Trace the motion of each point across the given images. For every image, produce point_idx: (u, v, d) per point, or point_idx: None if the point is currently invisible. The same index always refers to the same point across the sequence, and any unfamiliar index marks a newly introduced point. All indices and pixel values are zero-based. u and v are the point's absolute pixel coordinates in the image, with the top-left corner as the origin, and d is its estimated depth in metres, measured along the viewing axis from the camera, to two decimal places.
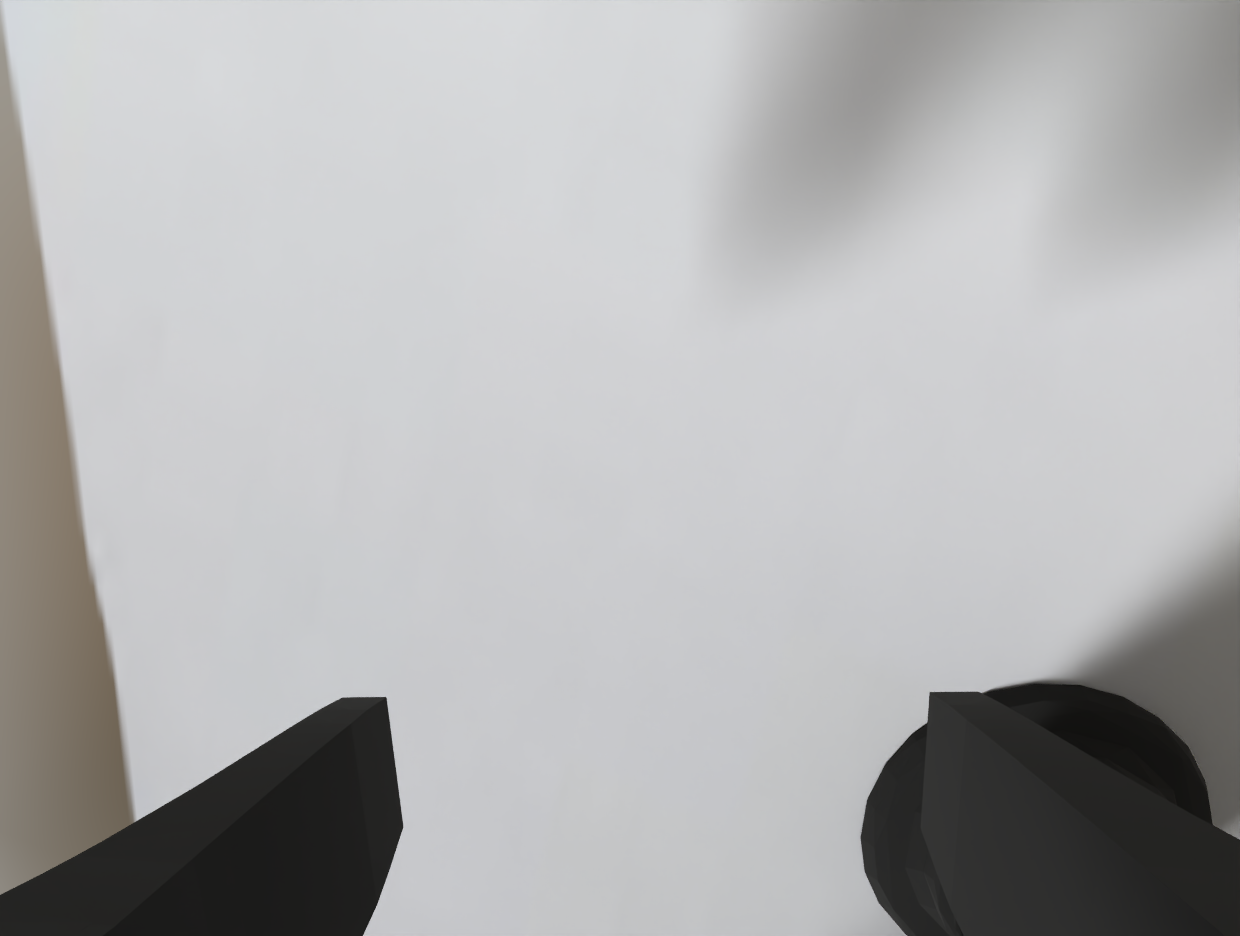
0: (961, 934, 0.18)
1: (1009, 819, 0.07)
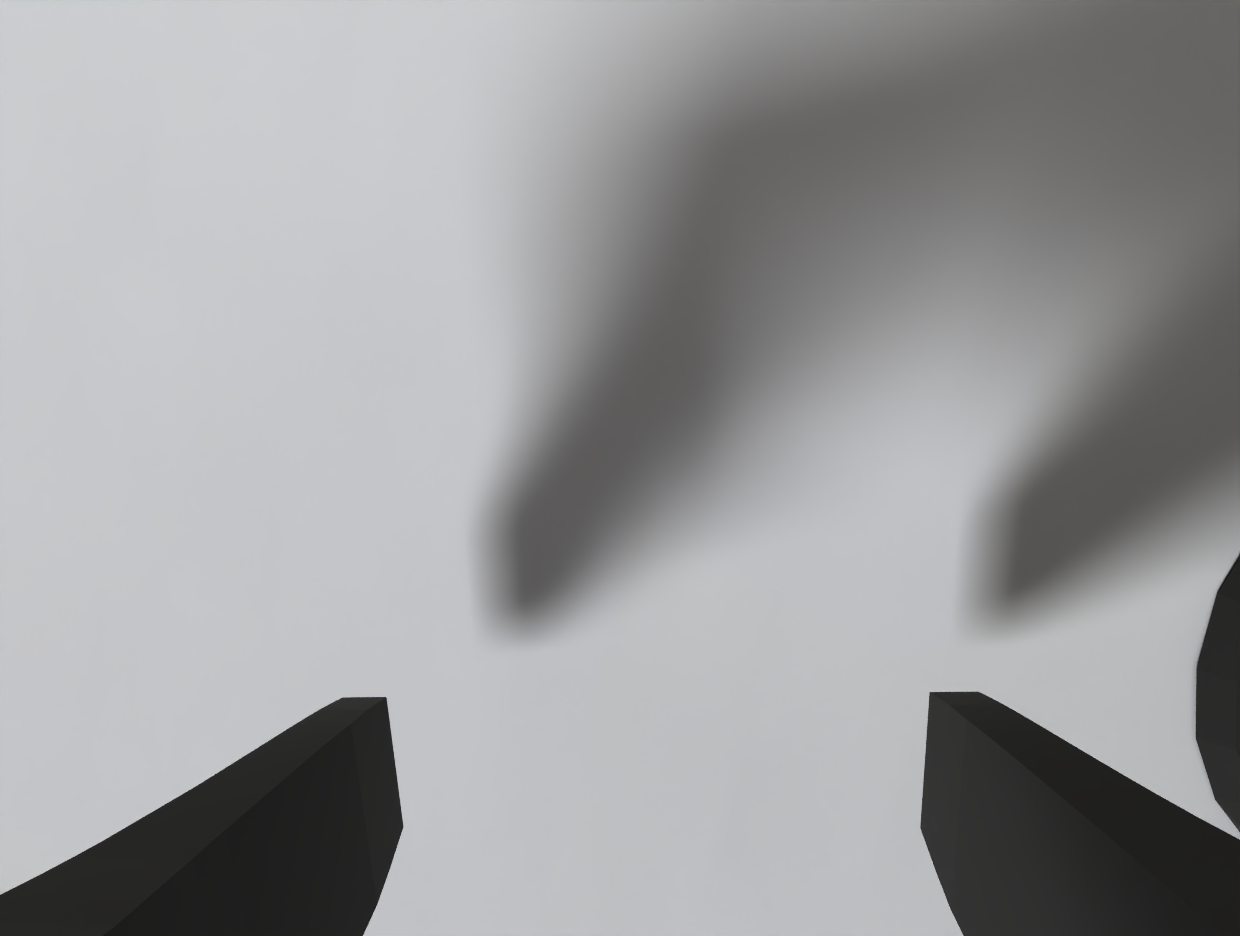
0: None
1: (1009, 819, 0.07)
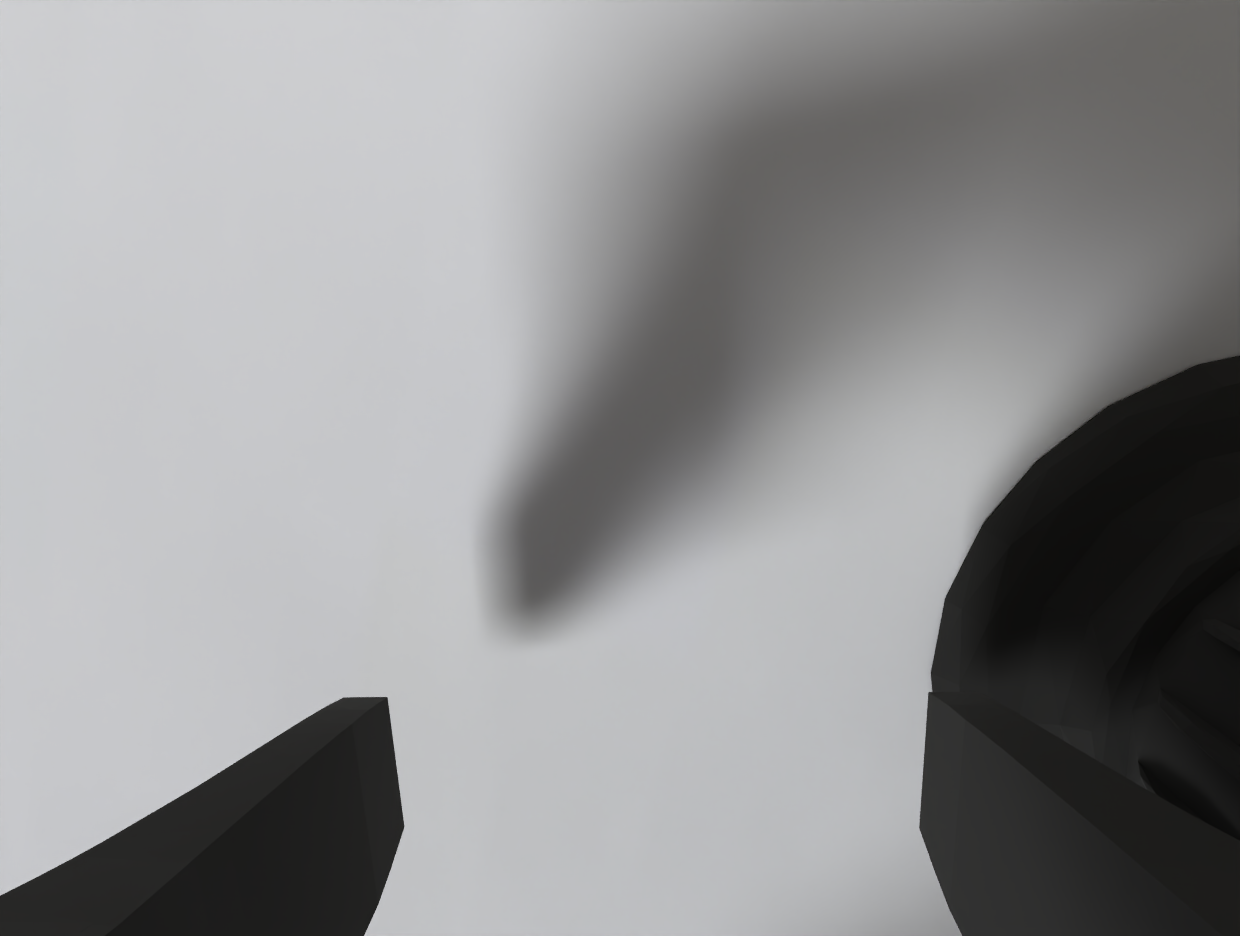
0: None
1: (1008, 820, 0.07)
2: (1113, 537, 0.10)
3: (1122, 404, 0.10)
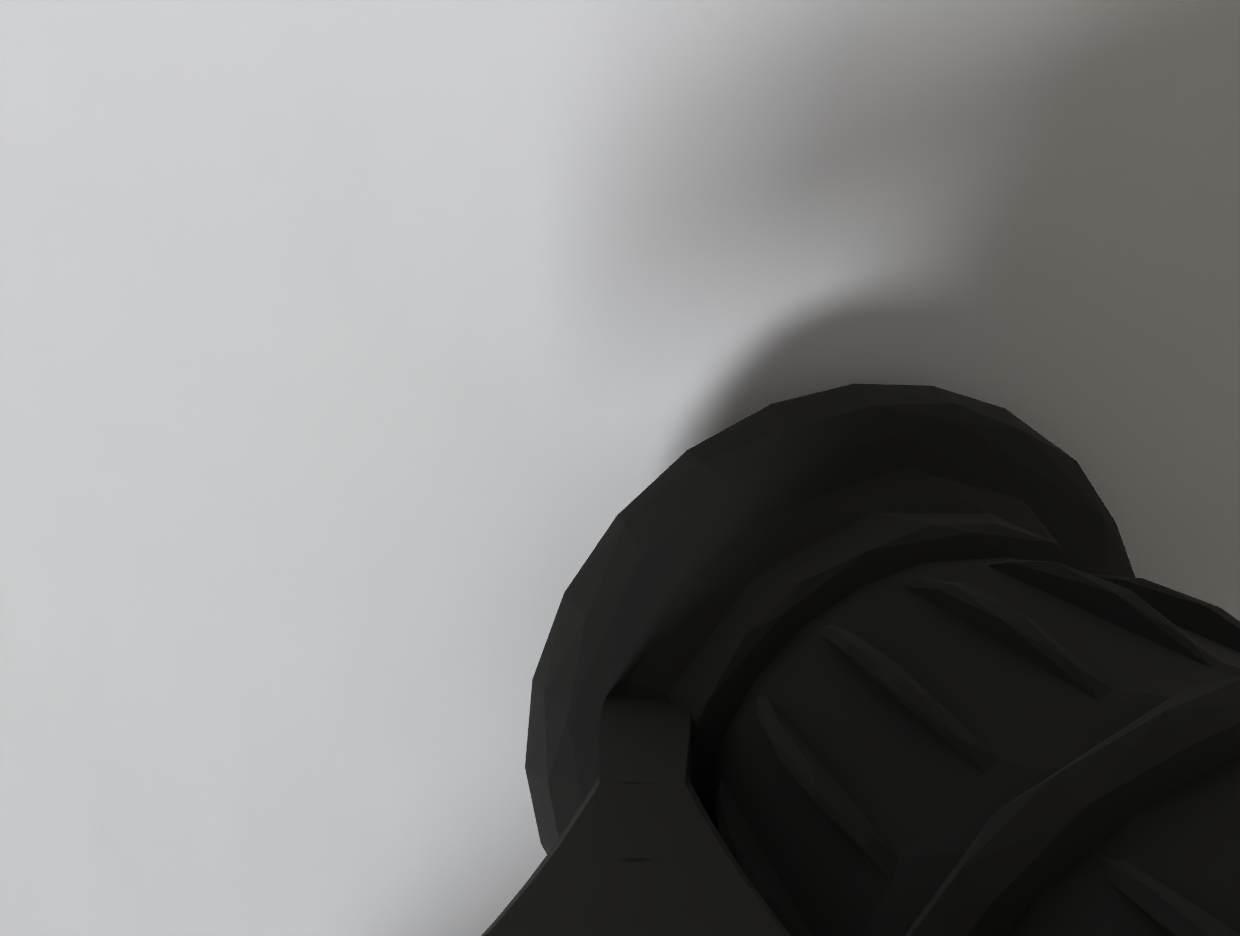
0: None
1: None
2: (691, 598, 0.09)
3: (699, 448, 0.09)
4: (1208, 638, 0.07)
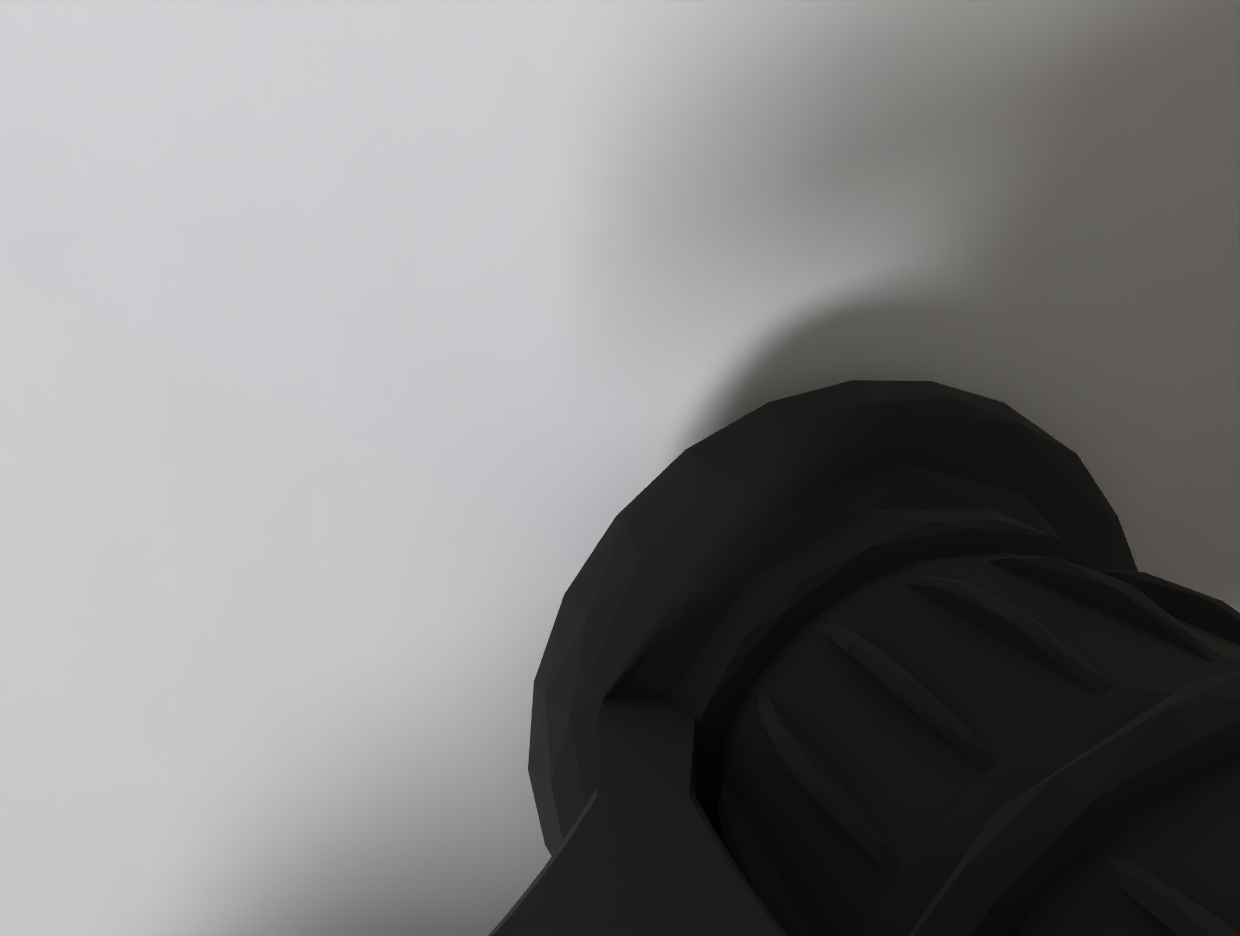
0: None
1: None
2: (692, 598, 0.09)
3: (697, 447, 0.09)
4: (1210, 632, 0.06)
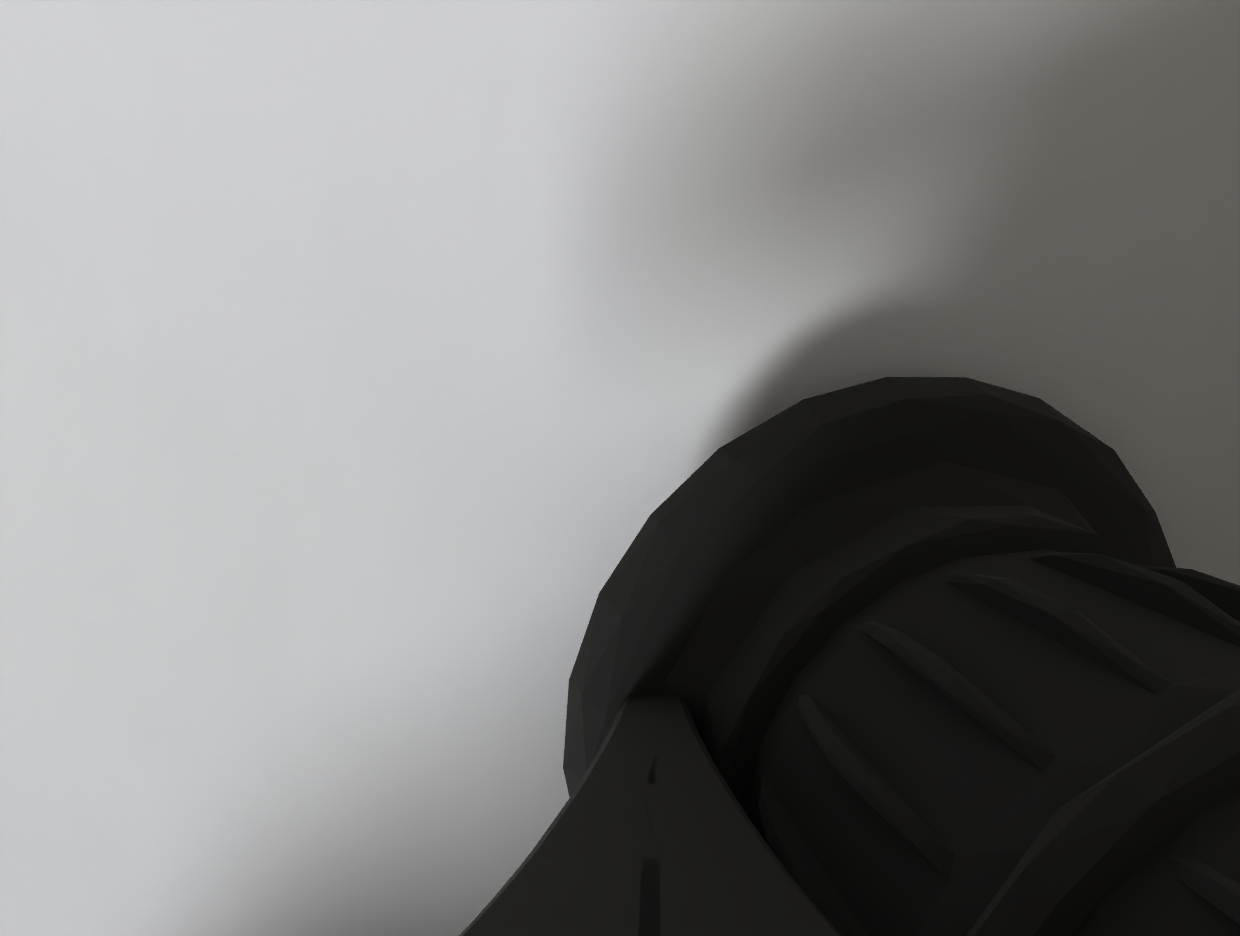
0: None
1: None
2: (727, 597, 0.09)
3: (731, 445, 0.09)
4: None
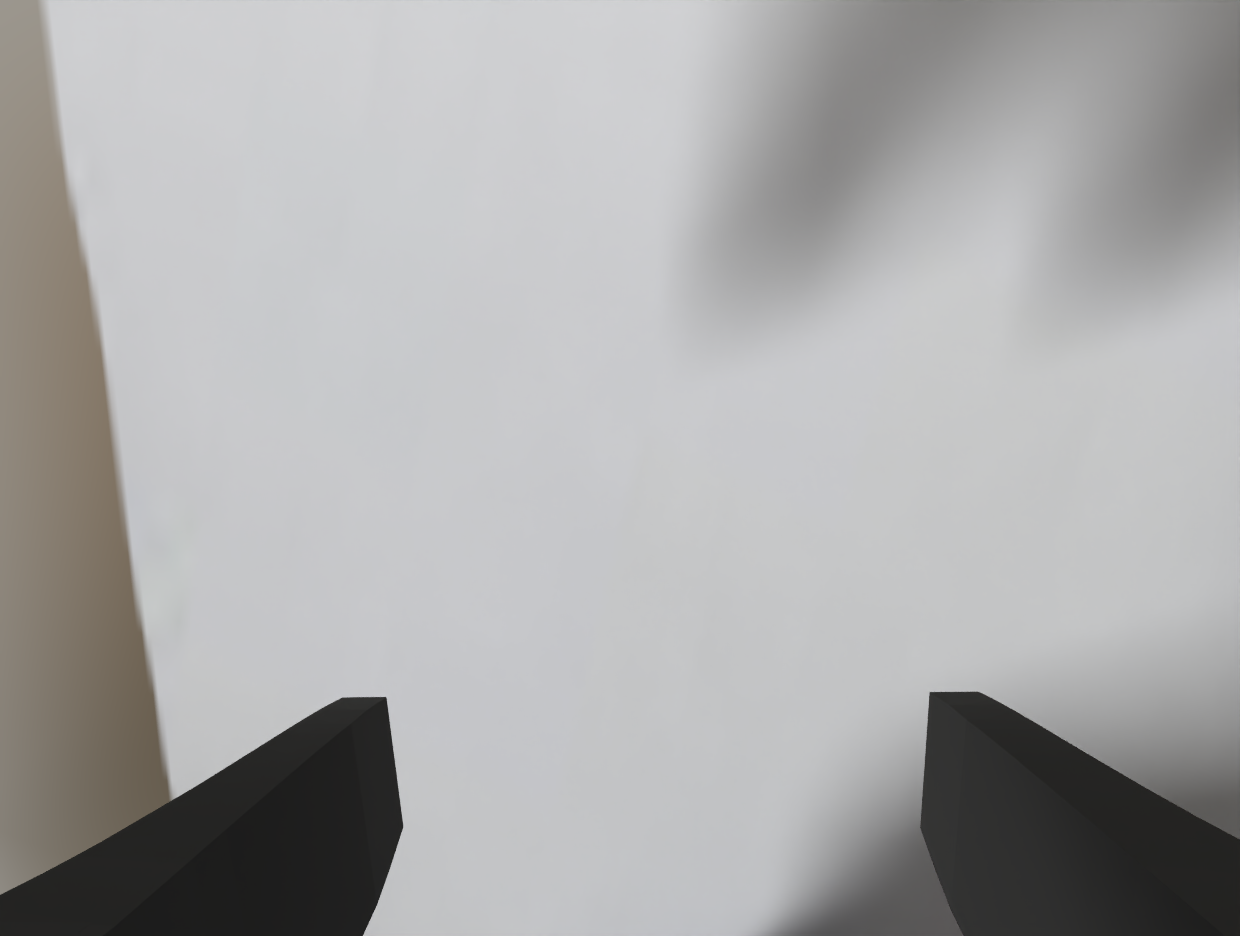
0: None
1: (1009, 820, 0.07)
2: None
3: None
4: None
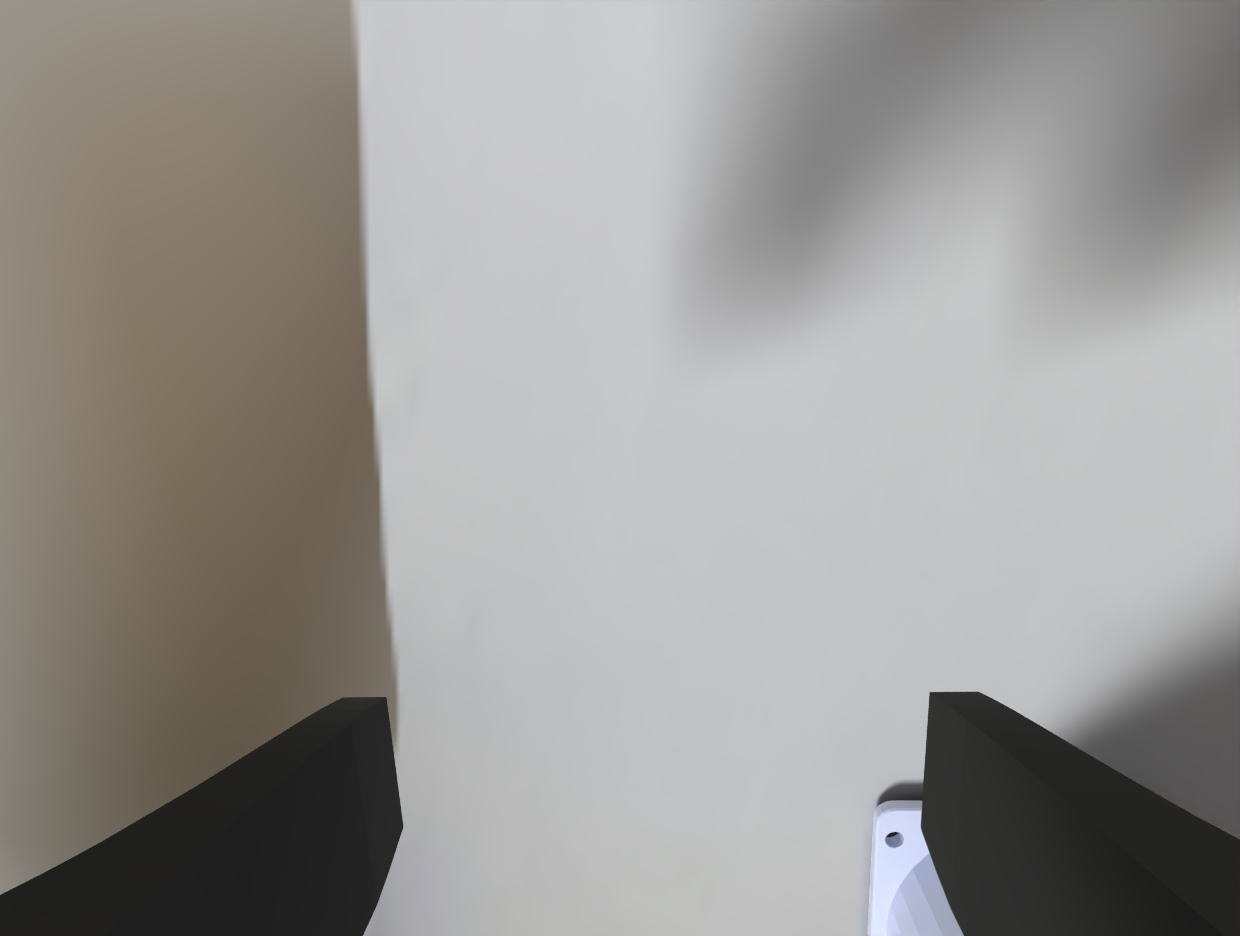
0: None
1: (1009, 819, 0.07)
2: None
3: None
4: None
